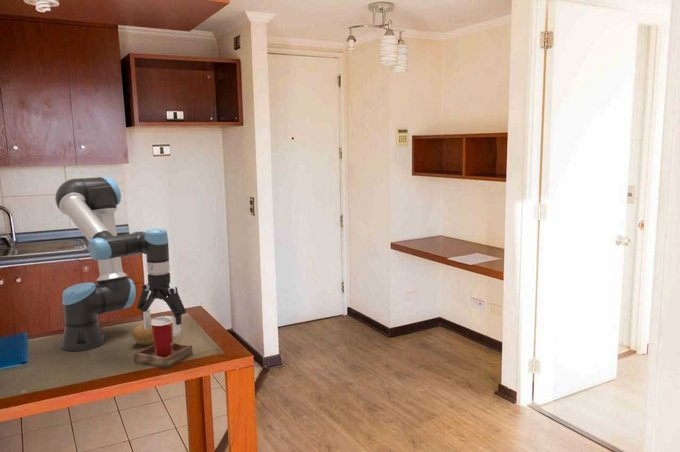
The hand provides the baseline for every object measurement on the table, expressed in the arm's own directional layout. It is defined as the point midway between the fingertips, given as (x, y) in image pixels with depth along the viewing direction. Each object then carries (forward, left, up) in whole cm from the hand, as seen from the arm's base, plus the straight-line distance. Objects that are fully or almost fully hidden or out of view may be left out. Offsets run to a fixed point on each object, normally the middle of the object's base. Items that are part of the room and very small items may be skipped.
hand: (162, 330), depth 195 cm
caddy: (0, 0, -10) cm, 10 cm away
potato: (-16, +10, -11) cm, 22 cm away
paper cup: (0, 0, -10) cm, 10 cm away
